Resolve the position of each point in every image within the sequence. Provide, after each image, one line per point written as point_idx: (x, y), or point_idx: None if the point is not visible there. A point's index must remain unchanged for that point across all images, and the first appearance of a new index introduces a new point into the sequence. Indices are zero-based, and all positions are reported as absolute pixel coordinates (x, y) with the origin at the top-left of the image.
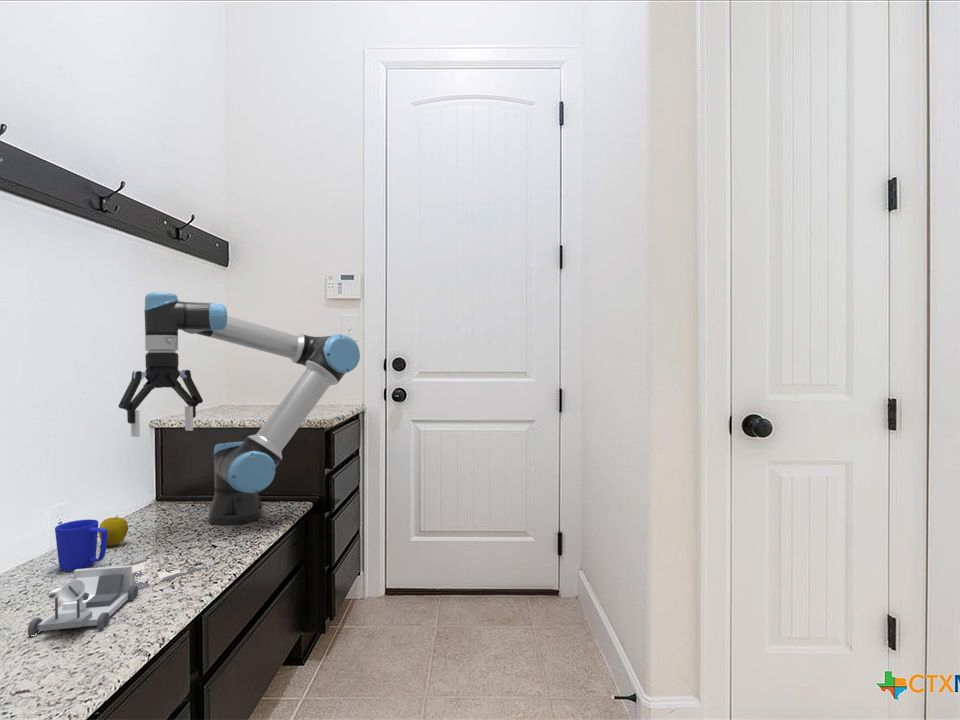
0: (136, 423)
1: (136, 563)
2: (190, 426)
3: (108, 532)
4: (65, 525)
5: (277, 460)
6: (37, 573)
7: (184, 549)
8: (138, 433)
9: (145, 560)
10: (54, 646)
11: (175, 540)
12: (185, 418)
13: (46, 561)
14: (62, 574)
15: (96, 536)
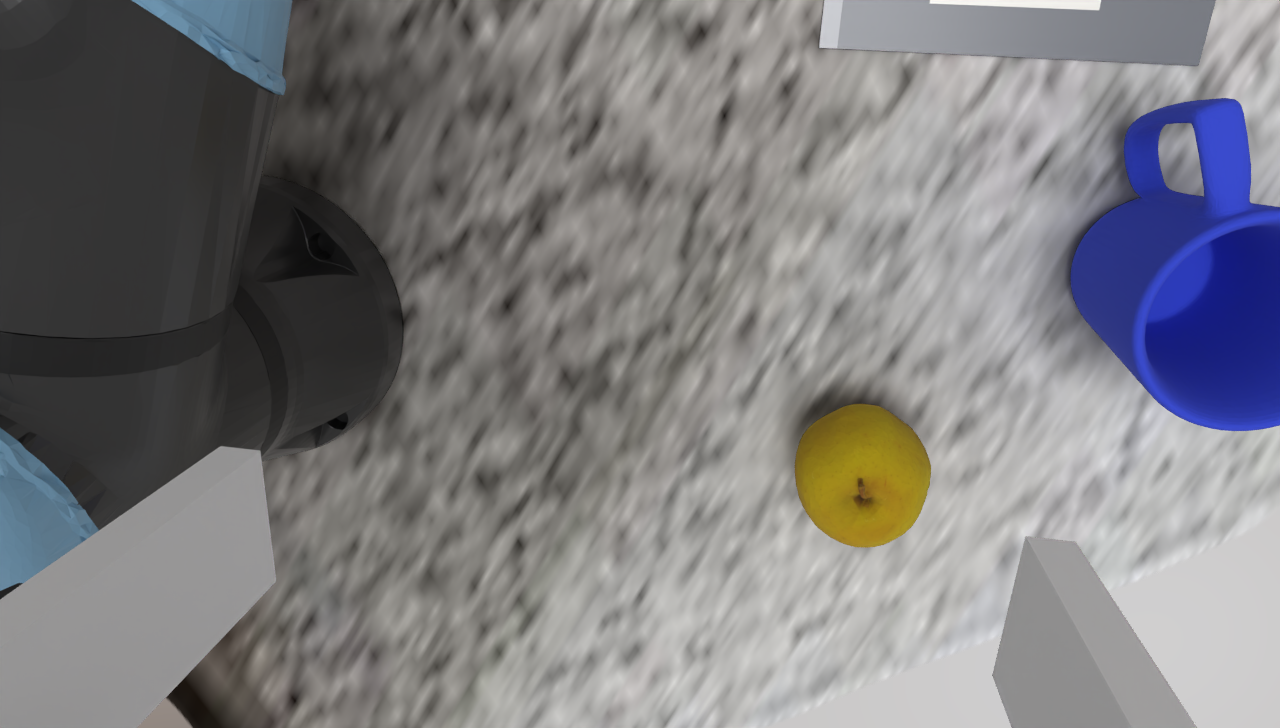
0: (1170, 692)
1: (1000, 26)
2: (218, 479)
3: (914, 435)
4: (1256, 412)
5: None
6: None
7: (728, 36)
8: (1063, 564)
9: (949, 30)
10: None
11: (660, 236)
12: (154, 690)
13: (1132, 484)
14: None
15: (1151, 232)
